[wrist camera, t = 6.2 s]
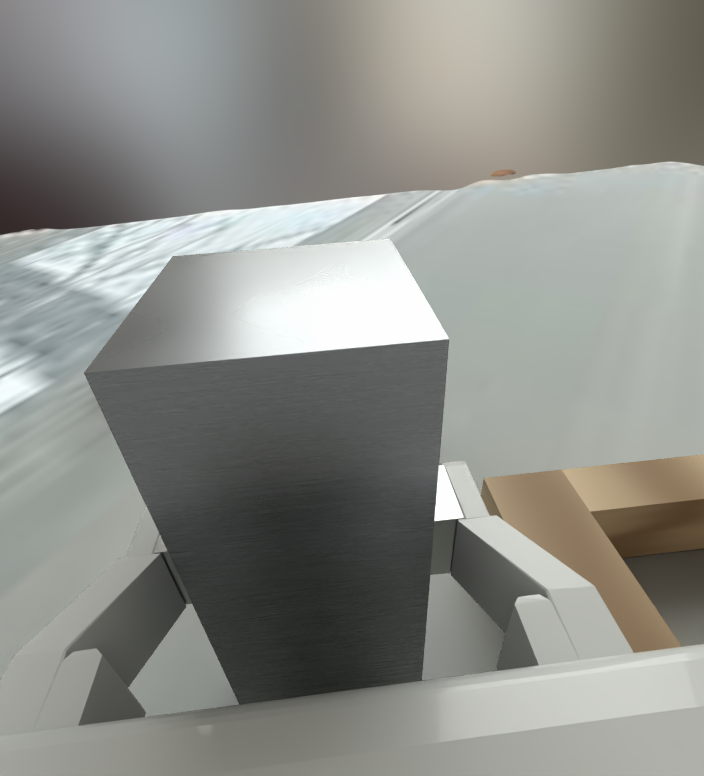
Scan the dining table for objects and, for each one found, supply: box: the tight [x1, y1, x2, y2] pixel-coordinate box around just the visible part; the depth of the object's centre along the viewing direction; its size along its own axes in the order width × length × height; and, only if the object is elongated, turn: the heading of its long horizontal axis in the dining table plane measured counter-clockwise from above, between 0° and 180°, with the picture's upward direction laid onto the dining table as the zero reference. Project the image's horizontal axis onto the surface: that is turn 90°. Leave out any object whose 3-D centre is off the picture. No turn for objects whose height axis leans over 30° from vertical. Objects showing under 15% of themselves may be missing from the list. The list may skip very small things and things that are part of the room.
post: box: [84, 239, 449, 705], centre depth 10 cm, size 4×4×13 cm
